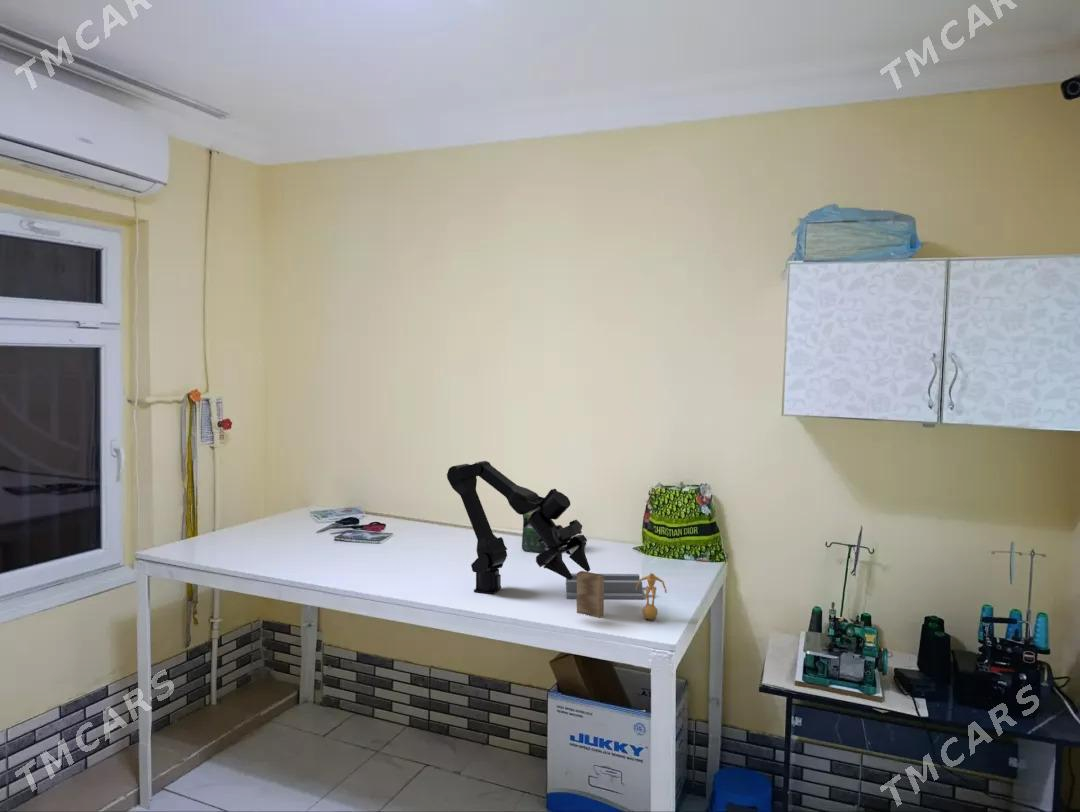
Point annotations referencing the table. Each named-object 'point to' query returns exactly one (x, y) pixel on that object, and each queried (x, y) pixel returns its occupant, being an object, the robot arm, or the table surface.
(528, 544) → the coffee jar
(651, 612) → the figurine
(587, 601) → the plaque
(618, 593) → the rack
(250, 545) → the table surface
